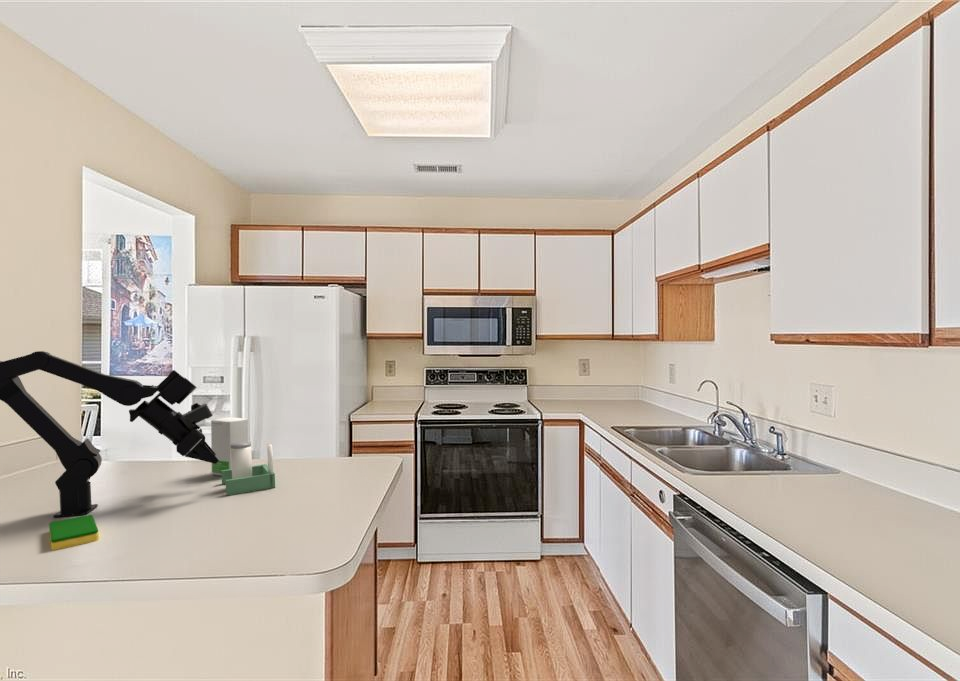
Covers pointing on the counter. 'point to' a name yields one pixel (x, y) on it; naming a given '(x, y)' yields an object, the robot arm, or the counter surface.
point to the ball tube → (241, 460)
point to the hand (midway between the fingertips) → (215, 458)
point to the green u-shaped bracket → (251, 478)
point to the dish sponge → (73, 532)
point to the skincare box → (226, 440)
